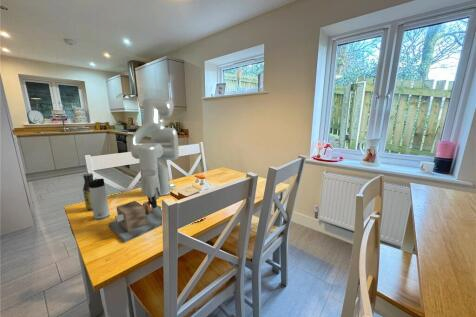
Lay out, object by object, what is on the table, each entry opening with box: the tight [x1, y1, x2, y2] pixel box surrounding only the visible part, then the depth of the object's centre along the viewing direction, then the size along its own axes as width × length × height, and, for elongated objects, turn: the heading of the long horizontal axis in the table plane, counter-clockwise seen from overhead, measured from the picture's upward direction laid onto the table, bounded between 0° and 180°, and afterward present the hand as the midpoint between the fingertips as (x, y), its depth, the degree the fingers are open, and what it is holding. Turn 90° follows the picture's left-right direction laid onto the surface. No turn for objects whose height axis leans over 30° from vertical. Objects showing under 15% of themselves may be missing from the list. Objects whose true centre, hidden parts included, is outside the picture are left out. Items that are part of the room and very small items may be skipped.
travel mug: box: [88, 178, 110, 221], centre depth 94 cm, size 6×7×20 cm
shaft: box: [114, 201, 153, 223], centre depth 88 cm, size 14×6×6 cm, turn 141°
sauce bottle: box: [82, 172, 94, 212], centre depth 103 cm, size 6×6×20 cm
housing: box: [107, 200, 163, 243], centre depth 91 cm, size 24×18×10 cm
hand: (153, 207), depth 94 cm, fingers closed
